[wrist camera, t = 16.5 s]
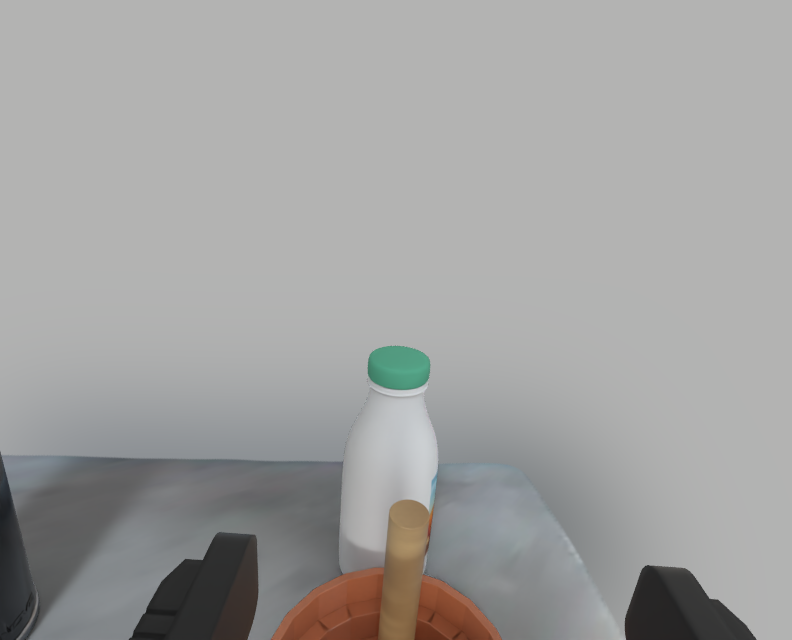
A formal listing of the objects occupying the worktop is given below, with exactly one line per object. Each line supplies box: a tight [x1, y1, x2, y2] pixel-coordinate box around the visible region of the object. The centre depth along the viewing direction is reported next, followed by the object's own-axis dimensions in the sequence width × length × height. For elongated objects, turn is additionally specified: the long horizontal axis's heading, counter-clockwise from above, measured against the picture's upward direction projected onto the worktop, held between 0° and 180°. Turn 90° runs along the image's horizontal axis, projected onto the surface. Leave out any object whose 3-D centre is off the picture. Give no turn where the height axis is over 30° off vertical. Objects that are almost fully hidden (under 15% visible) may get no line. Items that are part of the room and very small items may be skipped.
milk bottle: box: [339, 346, 438, 574], centre depth 38 cm, size 8×8×20 cm
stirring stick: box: [378, 499, 430, 640], centre depth 26 cm, size 4×4×17 cm
